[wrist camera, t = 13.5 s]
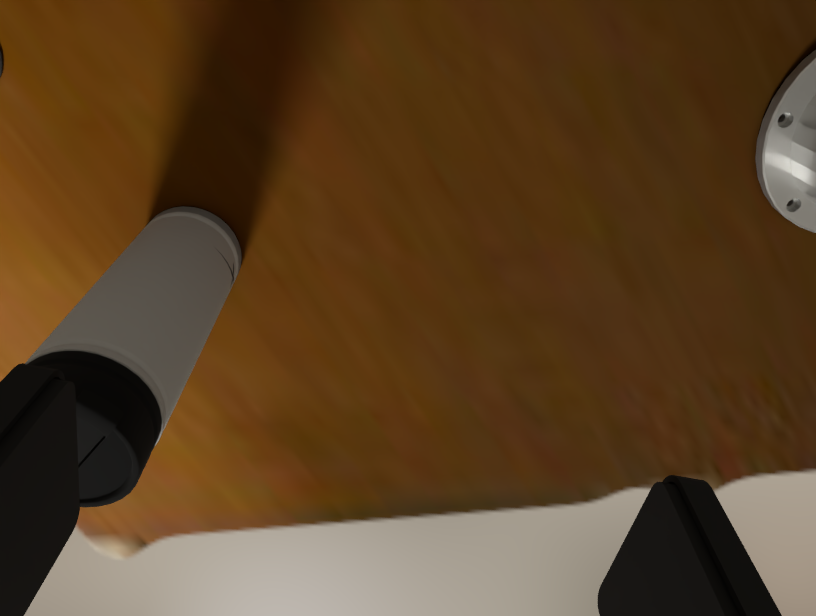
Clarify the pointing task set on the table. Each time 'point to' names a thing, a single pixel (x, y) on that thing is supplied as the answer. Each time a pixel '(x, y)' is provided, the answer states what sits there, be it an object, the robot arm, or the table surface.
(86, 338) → the travel mug
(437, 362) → the table surface
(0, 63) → the sundae
